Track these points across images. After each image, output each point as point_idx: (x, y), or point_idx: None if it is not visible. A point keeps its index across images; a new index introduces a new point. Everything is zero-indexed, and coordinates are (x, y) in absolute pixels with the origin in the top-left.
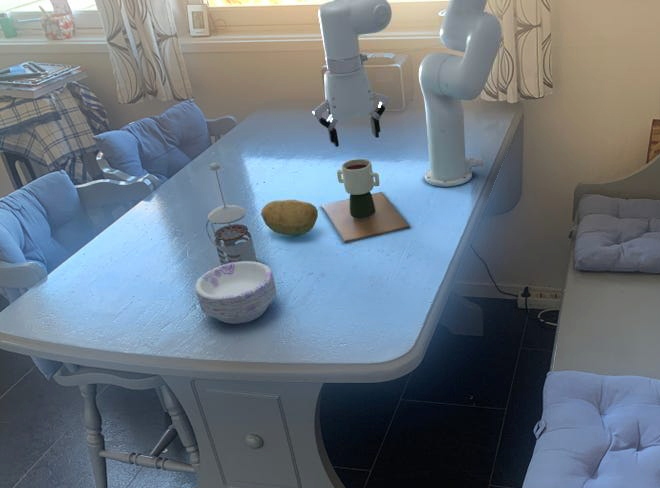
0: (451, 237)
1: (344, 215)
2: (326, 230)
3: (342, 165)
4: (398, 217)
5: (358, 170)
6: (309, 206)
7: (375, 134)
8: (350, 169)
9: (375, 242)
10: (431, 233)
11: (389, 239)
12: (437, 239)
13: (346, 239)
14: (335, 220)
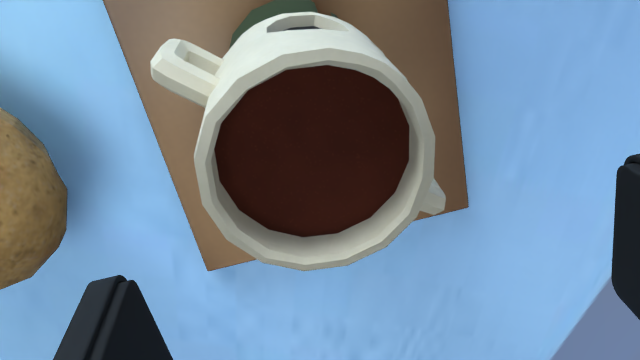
0: (575, 291)
1: (196, 41)
2: (117, 147)
3: (202, 166)
4: (443, 127)
5: (325, 264)
6: (15, 262)
7: (633, 306)
8: (263, 138)
9: (322, 279)
10: (525, 255)
11: (375, 268)
12: (529, 295)
13: (214, 263)
14: (153, 85)
